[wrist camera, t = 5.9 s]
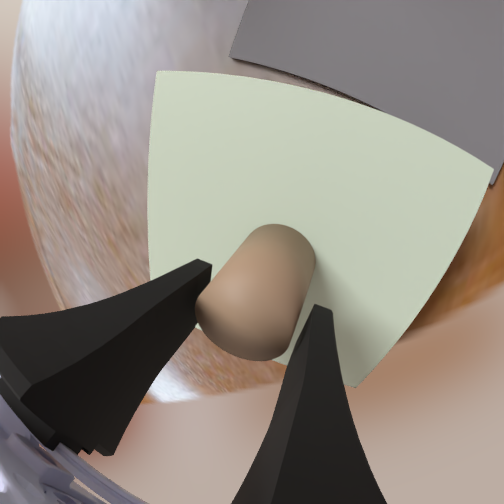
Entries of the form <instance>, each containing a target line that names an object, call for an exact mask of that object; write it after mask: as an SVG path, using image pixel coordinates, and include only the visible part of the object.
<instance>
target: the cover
mask: <svg viewBox="0 0 504 504" xmlns="http://www.w3.org/2000/svg"><path fill="white" fill-rule="evenodd" d="M493 171H494V169H493V168H491V167H490V166H488V165H487V164H485V163H484V162H482V161H481V160H479V159H477V158H476V157H474V156H472V155H471V154H469V153H467V152H466V151H464V150H462V149H461V148H459V147H457V146H455V145H453V144H451V143H450V142H448V141H446V140H444V139H442V138H440V137H438V136H436V135H434V134H432V133H430V132H428V131H426V130H424V129H422V128H420V127H417V126H415V125H413V124H411V123H408V122H406V121H404V120H401V119H399V118H397V117H394V116H392V115H389V114H387V113H384V112H381V111H379V110H376V109H373V108H371V107H368V106H365V105H362V104H359V103H356V102H353V101H350V100H347V99H343V98H340V97H337V96H333V95H330V94H326V93H323V92H319V91H315V90H311V89H307V88H303V87H298V86H294V85H289V84H284V83H279V82H274V81H269V80H263V79H257V78H250V77H243V76H236V75H227V74H217V73H205V72H188V71H157V74H156V81H155V89H154V97H153V106H152V116H151V128H150V142H149V161H148V246H149V265H150V280H153V279H155V278H158V277H160V276H162V275H164V274H166V273H168V272H170V271H172V270H174V269H176V268H178V267H180V266H182V265H185V264H187V263H189V262H191V261H193V260H195V259H197V258H198V259H200V260H203V261H205V262H208V263H210V264H213V265H212V274H211V282H210V283H209V284H208V285H207V287H206V288H205V289H204V290H203V292H202V293H201V294H200V295H199V297H198V298H197V301H196V303H195V315H196V319H197V322H198V323H197V325H196V326H195V327H196V328H198V329H200V330H202V331H203V332H204V333H205V335H206V336H207V337H208V338H209V339H210V340H211V341H212V342H213V343H214V344H216V345H217V346H218V347H220V348H221V349H222V350H224V351H226V352H228V353H230V354H232V355H234V356H237V357H239V358H242V359H246V360H252V361H268V360H274V361H276V362H279V363H282V364H284V365H288V362H289V360H290V357H291V354H292V352H293V349H294V346H295V344H296V341H297V339H298V337H299V335H300V333H301V331H302V329H303V327H304V325H305V323H306V321H307V319H308V316H309V314H310V312H311V310H312V308H313V306H314V304H317V305H320V306H323V307H325V308H328V309H331V310H332V312H333V319H334V329H335V337H336V345H337V351H338V357H339V363H340V369H341V374H342V379H343V383H344V385H347V386H351V387H354V388H356V387H357V386H358V385H359V384H360V383H361V382H362V381H363V380H364V379H365V378H366V377H367V375H368V374H369V373H370V372H371V371H372V370H373V369H374V368H375V367H376V366H377V365H378V363H379V362H380V361H381V360H382V359H383V358H384V356H385V355H386V354H387V353H388V352H389V351H390V349H391V348H392V347H393V346H394V345H395V343H396V342H397V341H398V340H399V338H400V337H401V336H402V334H403V333H404V332H405V331H406V329H407V328H408V327H409V325H410V324H411V323H412V321H413V320H414V319H415V317H416V316H417V314H418V313H419V312H420V310H421V309H422V307H423V306H424V304H425V303H426V302H427V300H428V299H429V297H430V296H431V294H432V293H433V291H434V290H435V288H436V286H437V285H438V283H439V282H440V280H441V278H442V277H443V275H444V274H445V272H446V270H447V269H448V267H449V265H450V263H451V262H452V260H453V258H454V256H455V255H456V253H457V251H458V249H459V247H460V245H461V243H462V242H463V240H464V238H465V236H466V234H467V232H468V230H469V228H470V226H471V224H472V221H473V219H474V217H475V215H476V213H477V211H478V208H479V206H480V204H481V201H482V199H483V197H484V194H485V192H486V189H487V187H488V184H489V182H490V179H491V176H492V173H493Z"/></svg>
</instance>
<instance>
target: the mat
mask: <svg viewBox="0 0 504 504" xmlns="http://www.w3.org/2000/svg"><path fill="white" fill-rule="evenodd" d="M229 57H231V58H235V59H239V60H244V61H248V62H252V63H256V64H260V65H264V66H267V67H271V68H275V69H278V70H281V71H285V72H288V73H291V74H294V75H297V76H300V77H303V78H306V79H309V80H312V81H314V82H317V83H320V84H322V85H325V86H328V87H330V88H333V89H335V90H337V91H340V92H342V93H345V94H347V95H349V96H351V97H354V98H356V99H358V100H360V101H362V102H365V103H367V104H369V105H371V106H373V107H375V108H377V109H379V110H381V111H383V112H385V113H387V114H389V115H392V116H394V117H397V118H399V119H401V120H404V121H406V122H408V123H411V124H413V125H415V126H417V127H420V128H422V129H424V130H426V131H428V132H430V133H432V134H434V135H436V136H438V137H440V138H442V139H444V140H446V141H448V142H450V143H451V144H453V145H455V146H457V147H459V148H461V149H462V150H464V151H466V152H467V153H469V154H471V155H472V156H474V157H476V158H477V159H479V160H481V161H482V162H484V163H485V164H487V165H488V166H490V167H491V168H493V169H494V171H493V173H492V176H491V179H490V182H489V183H490V184H492V185H493V183H494V181H495V179H496V177H497V175H498V173H499V171H500V169H501V167H502V165H503V162H504V0H249V1H248V4H247V7H246V9H245V12H244V14H243V17H242V20H241V23H240V25H239V28H238V31H237V34H236V37H235V39H234V42H233V45H232V48H231V51H230V54H229Z"/></svg>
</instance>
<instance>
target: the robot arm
mask: <svg viewBox="0 0 504 504" xmlns="http://www.w3.org/2000/svg"><path fill="white" fill-rule="evenodd" d="M212 265H213V264H210V263H208V262H205V261H203V260H200V259H198V258H197V259H195V260H193V261H191V262H189V263H187V264H185V265H182V266H180V267H178V268H176V269H174V270H172V271H170V272H168V273H166V274H164V275H162V276H160V277H158V278H155V279H153V280H151V281H149V282H147V283H145V284H142V285H140V286H138V287H135V288H133V289H130V290H128V291H126V292H123V293H121V294H118V295H115V296H113V297H110V298H107V299H104V300H101V301H98V302H94V303H91V304H88V305H84V306H79V307H75V308H71V309H67V310H63V311H57V312H51V313H45V314H38V315H29V316H9V317H1V318H0V504H106V503H105V502H103V501H102V500H100V499H98V498H97V497H95V496H94V495H92V494H91V493H89V492H88V491H87V490H85V489H84V488H82V487H81V486H80V485H78V484H77V483H75V482H74V481H73V480H74V479H75V478H74V476H75V477H76V478H77V479H79V480H80V481H81V482H82V483H84V484H85V485H86V486H87V487H89V488H90V489H91V490H93V491H94V492H95V493H97V494H98V495H100V496H101V497H102V498H104V499H105V500H107V501H108V502H110V503H111V504H148V503H147V502H145V501H143V500H141V499H140V498H138V497H136V496H134V495H132V494H131V493H129V492H128V491H126V490H125V489H123V488H122V487H120V486H119V485H117V484H115V483H114V482H112V481H111V480H110V479H108V478H107V477H105V476H104V475H103V474H101V473H100V472H98V471H97V470H96V469H95V468H93V467H92V466H91V465H89V464H88V463H87V462H86V461H84V460H83V459H82V458H81V457H79V456H78V453H79V452H80V451H81V449H82V450H84V451H85V452H86V453H87V454H89V455H90V454H91V453H92V451H93V450H94V449H95V450H96V451H97V452H99V453H100V454H102V455H103V456H112V455H114V453H115V450H116V448H117V446H118V444H119V442H120V440H121V438H122V436H123V434H124V432H125V430H126V428H127V426H128V424H129V422H130V421H131V419H132V417H133V415H134V413H135V411H136V410H137V408H138V406H139V405H140V403H141V401H142V399H143V398H144V396H145V394H146V393H147V391H148V389H149V388H150V386H151V385H152V383H153V381H154V380H155V378H156V377H157V375H158V374H159V373H160V371H161V370H162V368H163V367H164V366H165V365H166V363H167V362H168V361H169V360H170V358H171V357H172V356H173V355H174V353H175V352H176V351H177V350H178V348H179V347H180V346H181V345H182V343H183V342H184V341H185V339H186V338H187V337H188V336H189V334H190V333H191V332H192V330H193V329H194V328H195V326H196V325H197V323H198V322H197V319H196V315H195V303H196V301H197V298H198V297H199V295H200V294H201V293H202V292H203V290H204V289H205V288H206V287H207V285H208V284H209V283H210V282H211V274H212ZM39 444H40V445H41V446H42V447H43V448H44V449H45V450H46V451H45V450H44V449H42V448H41V447H39ZM72 474H73V475H74V476H73V475H72ZM231 504H387V503H386V501H385V499H384V497H383V495H382V493H381V491H380V489H379V487H378V484H377V482H376V480H375V478H374V475H373V473H372V471H371V469H370V466H369V464H368V461H367V458H366V456H365V453H364V451H363V448H362V445H361V443H360V440H359V438H358V434H357V431H356V428H355V425H354V422H353V418H352V415H351V411H350V408H349V404H348V400H347V397H346V392H345V388H344V383H343V379H342V374H341V369H340V363H339V357H338V351H337V345H336V337H335V329H334V319H333V312H332V310H331V309H328V308H325V307H323V306H320V305H317V304H314V306H313V308H312V310H311V312H310V314H309V316H308V319H307V321H306V323H305V325H304V327H303V329H302V331H301V333H300V335H299V337H298V339H297V341H296V344H295V346H294V349H293V352H292V354H291V357H290V360H289V362H288V365H287V368H286V372H285V376H284V379H283V383H282V386H281V390H280V394H279V397H278V401H277V404H276V407H275V411H274V414H273V417H272V420H271V423H270V426H269V429H268V431H267V433H266V435H265V438H264V440H263V442H262V444H261V447H260V449H259V451H258V453H257V456H256V457H255V459H254V461H253V464H252V466H251V468H250V470H249V472H248V474H247V476H246V478H245V479H244V482H243V484H242V485H241V487H240V489H239V491H238V493H237V494H236V496H235V498H234V500H233V501H232V503H231Z"/></svg>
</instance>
